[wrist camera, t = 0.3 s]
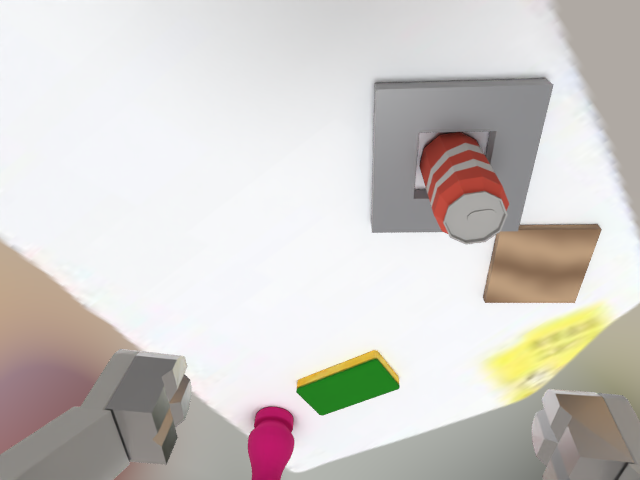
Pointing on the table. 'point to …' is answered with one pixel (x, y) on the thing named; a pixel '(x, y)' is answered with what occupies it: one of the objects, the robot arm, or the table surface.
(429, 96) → the dock
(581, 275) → the coaster pad
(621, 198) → the table surface
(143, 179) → the table surface
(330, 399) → the dish sponge
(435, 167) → the beverage can
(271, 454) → the pepper mill
